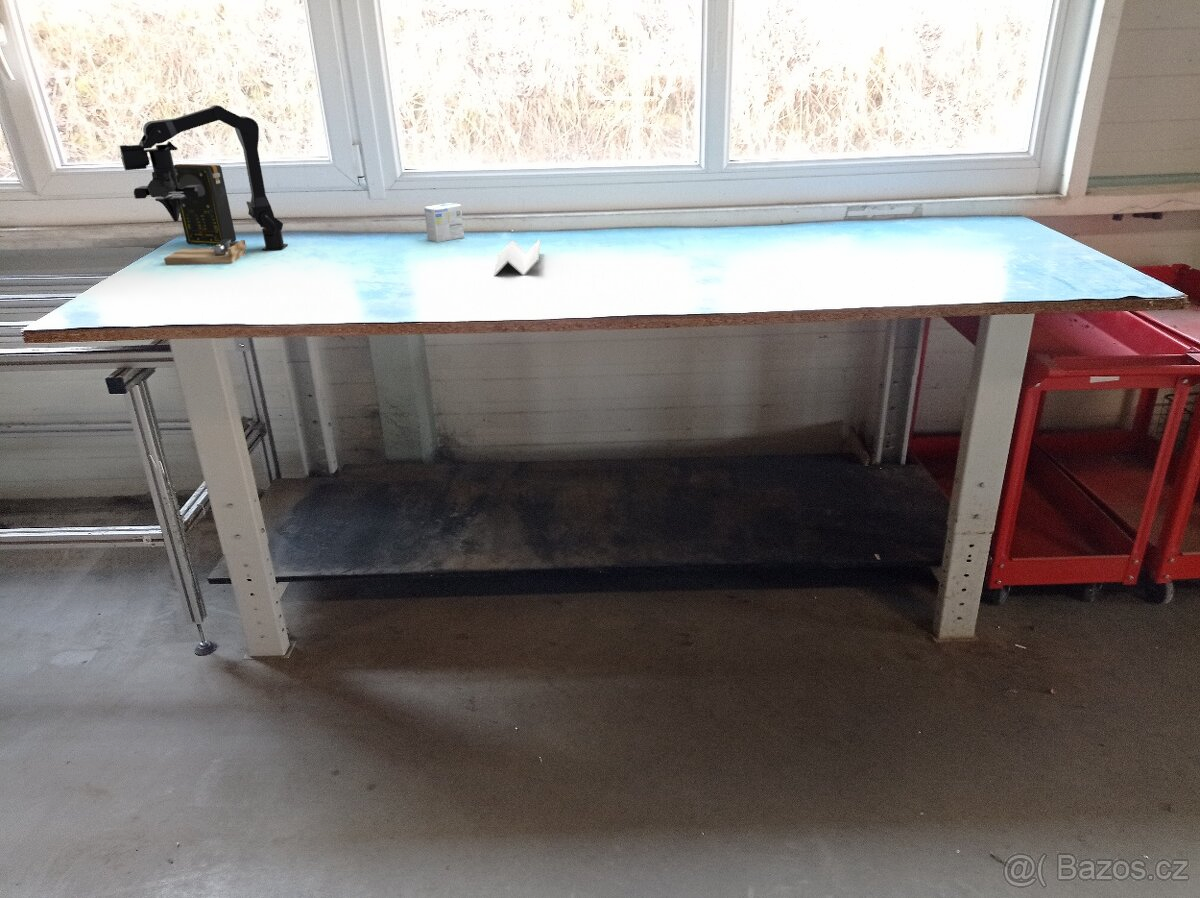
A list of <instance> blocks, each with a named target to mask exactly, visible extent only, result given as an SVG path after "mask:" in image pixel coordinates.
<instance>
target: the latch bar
mask: <svg viewBox="0 0 1200 898" xmlns="http://www.w3.org/2000/svg"><path fill="white" fill-rule="evenodd" d="M230 243H231V239H223V240H222V241H221V242H219V243H218V244H217V245H212V248H213V249H214V254H215V255H224V254H226V252H227V251H228V250H227V249H228V248H230Z"/></svg>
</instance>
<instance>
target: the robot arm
mask: <svg viewBox="0 0 1200 898" xmlns="http://www.w3.org/2000/svg"><path fill="white" fill-rule="evenodd" d="M218 121H220V122H222V123H224V124H226V125H228V126H229V127H232V128H234V130H235V133H236V135H237V138H238V141H239V144H240V145H241V147H242V150H243V154H244V155H243V156H244V161H245V166H246V171H247V177H248V182H249V188H250V189H249V190H250V194H251V199H250V201H246V206H247V208H248V215H249V216H250V217H251V219H252V220H253V221H254V222H255V223H257V224H258V225H259V226H260V228H262V229H261V231H262V235H263V241H264V246H263V247H262V248H261V250H262V251H276V250H278V251H279V250H283V249H285V248H286V247H287V246H289V244H288V243H284V242H285V241H284V238H283V232H282V230H283V226H284V223H283V222H282V221H280V220H279V219H278V218H276V216H275V214H274V211H273V208H272V206H271V203H270V202H269V199H268V198H267V195H266V189H265V188H266V187H265V182H264V178H263V172H262V166H261V160H260V155H259V148H258V147H259V139H260V132H259V131H260V128H259V124H258V123H257V121H256V120H255V119H253V118H251V117H248V116H244V115H243V116H240V115H237V114H236V113H234V112H231V111H229V110H227V109H226V108H224V107H223V106H222V105H217V104H214V105H212V106H210V107H208V108H207V107H206V108H204V109H201V110H198V111H197V110H196V111H194V112H191V113H188V114H185V115H182V116H178V117H176V118H168V119H158V120H157V119H156V120H150V121H147V122H145V124H144V125H143V128H142V132H143V136H142V137H141V139H140V142H139V143H138V144H131V145H130V144H129V145H126V144H121V145H119V149H120V160H121V162H122V165H123V169H124V171H134V170H135V171H137V170H146V169H147V168H148V167H149V166H148V165H150V163H151V165H152V169H153V171H152V172H151V176H152V179H151V180H150V181H149V182H148V184H147V185H141V186H139V187H136V188H134V189H133V196H134V199H137V200H138V199H147V197H148V196H150V197H151V198H155V199H154V201H156V202H159V203H160V204H161V205H163V207H165V209H166V211H167V212H168V213H169V215H170V217H171V218H172V220H173V221H174V222H179V219H180V209H181V205H182V202H183V199H184V198H186V197H199V196H202V195H204V194H205V190H204V188H203V186H202V185H188V186H186V187H184V188H179V187H181V185H180V183H178V181H177V176H176V173H178V172H177V169H175V168H174V165H175V164H174V160H173V156H172V151H178V147H177V146H175V145H174V144H173V143H172V142H171V141H170V139H172V138H174V137H175V136H177V135H179V134H180V133H182V132H186V131H189V130H192V129H196V128H198V127H201V126H204V125H207V124H211V123H213V122H218ZM168 140H169V141H168ZM165 142H167V143H165ZM163 143H165V144H163ZM154 146H155V148H153V147H154ZM148 153H149V155H148ZM149 157H150V158H149ZM147 166H148V167H147Z"/></svg>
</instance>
